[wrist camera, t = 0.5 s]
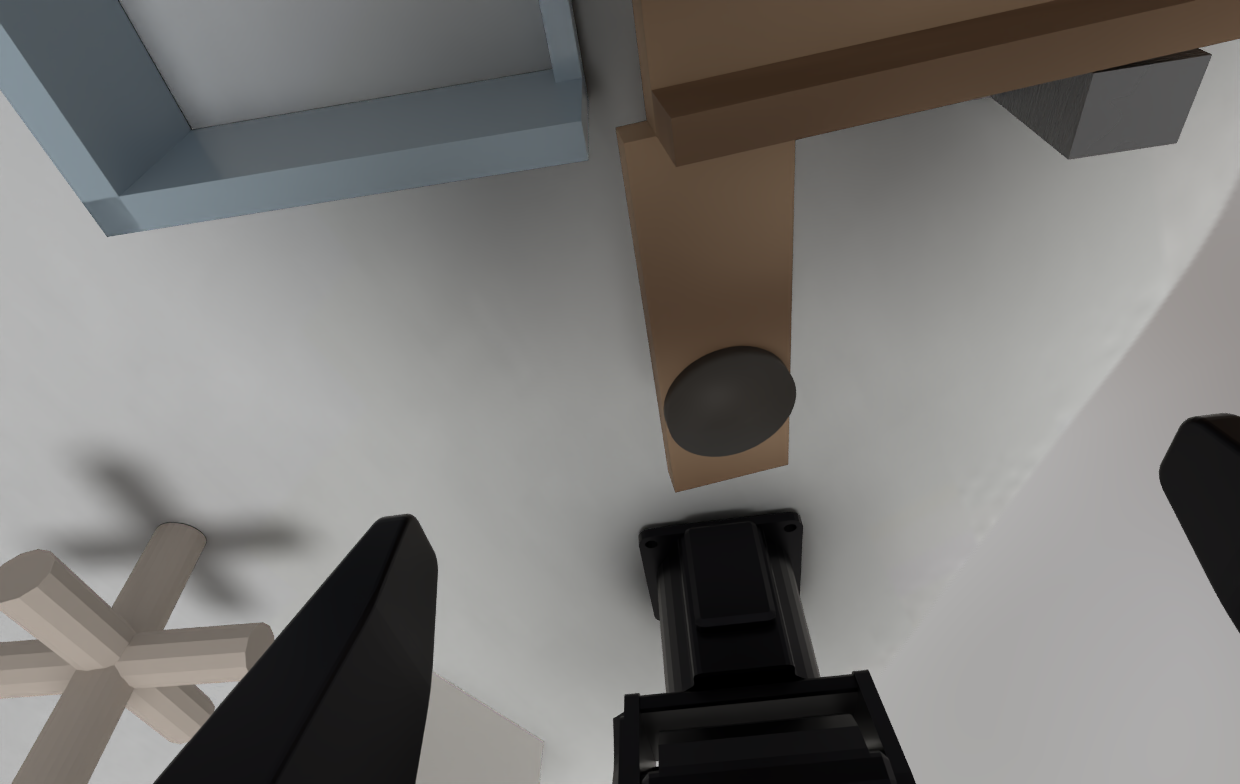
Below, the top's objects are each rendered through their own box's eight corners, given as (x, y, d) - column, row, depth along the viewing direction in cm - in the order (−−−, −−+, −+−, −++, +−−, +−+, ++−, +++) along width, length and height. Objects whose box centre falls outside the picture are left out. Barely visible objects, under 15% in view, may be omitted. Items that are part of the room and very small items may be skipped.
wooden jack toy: (349, 596, 30) (272, 862, 23) (128, 613, 31) (-18, 881, 23) (249, 438, 24) (95, 742, 16) (-32, 462, 24) (-308, 771, 17)
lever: (1367, 294, 20) (1468, 349, 18) (667, 468, 20) (693, 546, 18) (2028, -659, 10) (2441, -779, 8) (537, -374, 9) (565, -427, 7)
